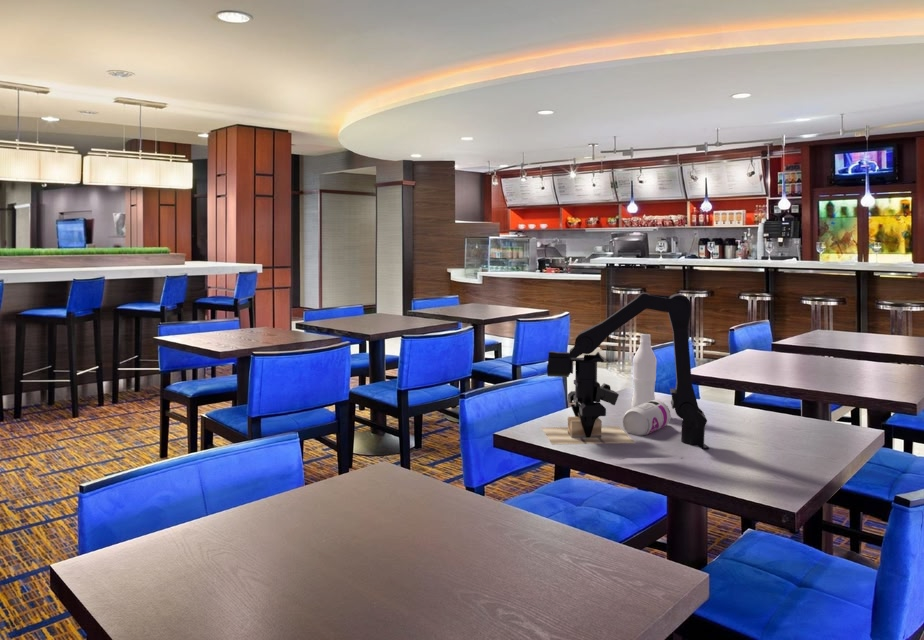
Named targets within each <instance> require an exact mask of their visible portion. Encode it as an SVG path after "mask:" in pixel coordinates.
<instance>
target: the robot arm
mask: <svg viewBox="0 0 924 640" xmlns="http://www.w3.org/2000/svg"><path fill="white" fill-rule="evenodd" d="M648 309H649V310H652V311H659V312H664V313H667V315H668V318H669V322H670V325H671V329H672V338H673V352H674V353H673V354H674V365H675V367H674V368H675V379H676V381H675V387H674V388H669V390H670V395H671V400H670V405H671V408H672V409H673V410H675V414H676V415H677V416H678V417H679V418H680V419H682V421H681V433H680V437H681V438H680V442H681V443H683V444H685V445H688V446H691V447H693V446H694V447H695V446H697V447H699V448H700V449H702V450H709V449H710V447H709V446H708V445H707V444H706V443H705V431H706V430H705V429H706V428H705V427H706V425H707V422H708V419H707V417H706V415H705V413H704V410H702V409H701V408H700V407H699V405H698V401H697V398H696V393H695V390H694V387H693V382H692V369H691V367H692V366H691V357H690V356H691V355H690V354H691V353H690V341H689V339H690V338H689V325H690V320H691V312H692V303H691V301H690V299H689V298H688V297H686V296H685V295H684V294H681V293H673V294H672V295H661V294H651V293H648V292H641V293H639V294H638V295H637V296H636V297H635V298H634V299H632V300H631V301H629V302H628V303H627V304H625V305H624V306H622V307H621V308H620V309H619V310H617V311H615V312H614V313H613V314H611V315H610V316H609V317H607V318H605V319H604V320H603V321H601V322H599V323H597V324H595V325H592V326H590V327H588V328H586V329H584V330H582V331H580V332H579V333H578V334H577V336H576V337H575V341H574V346H573V347H572V348H570V349H569V352H567V351H566V352H561V351H560V352H559V351H554V350H553V351H551V350H550V351H549V352H548V358H547V364H546V372H547V377H553V378H554V377H555V378H569V377H570V375H571V374H575V375H574V376H575V379H574V380H573V384H574V387H575V390H574V391H573V390H571V391H570V392H568V394H567V402H568V403H569V404H570V408H571V410H572V412H573V415H574V417H579V418H580V421H581V424H582V427H583V430H584V433H585V436H586V437H590V436H591V433H592V430H593V426H594V423H595V420H596V419H597V418H600V417H606V416H607V408H606V407H605V406H604V405H603V404H602V403H601V401H603V402H605V403H608V404H610V405H612V406H616V404H617V401H618V400H619V399H618V398H619V395H620V394H619V393H618V392H616V391H614V390H613V389H611V385H609V384H607V383H605V382H604V383H602V384H600V383H599V382H598V363H604V362H605V357H604V356H602V354H601V353H600V351H597V352H596V353H595V354H592V353H593V352H594V351H595V350H596V349H597V348H598V347H600V346H601V344H602V343H604V341H605V340H606V339H607V338H608V337H609V336H610V335H611V334H612V333H613V332H615V331H616V330H618V329H620V328H621V327H623V326H624V325H625V324H626V323H628V322H630V321H631V320H632V319H634V318H635V317H636V316H638V315H639V314H641V313H643V311H645V310H648ZM582 355H583V357H580V356H582ZM574 362H575V365H574ZM574 367H575V373H574Z"/></svg>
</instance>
